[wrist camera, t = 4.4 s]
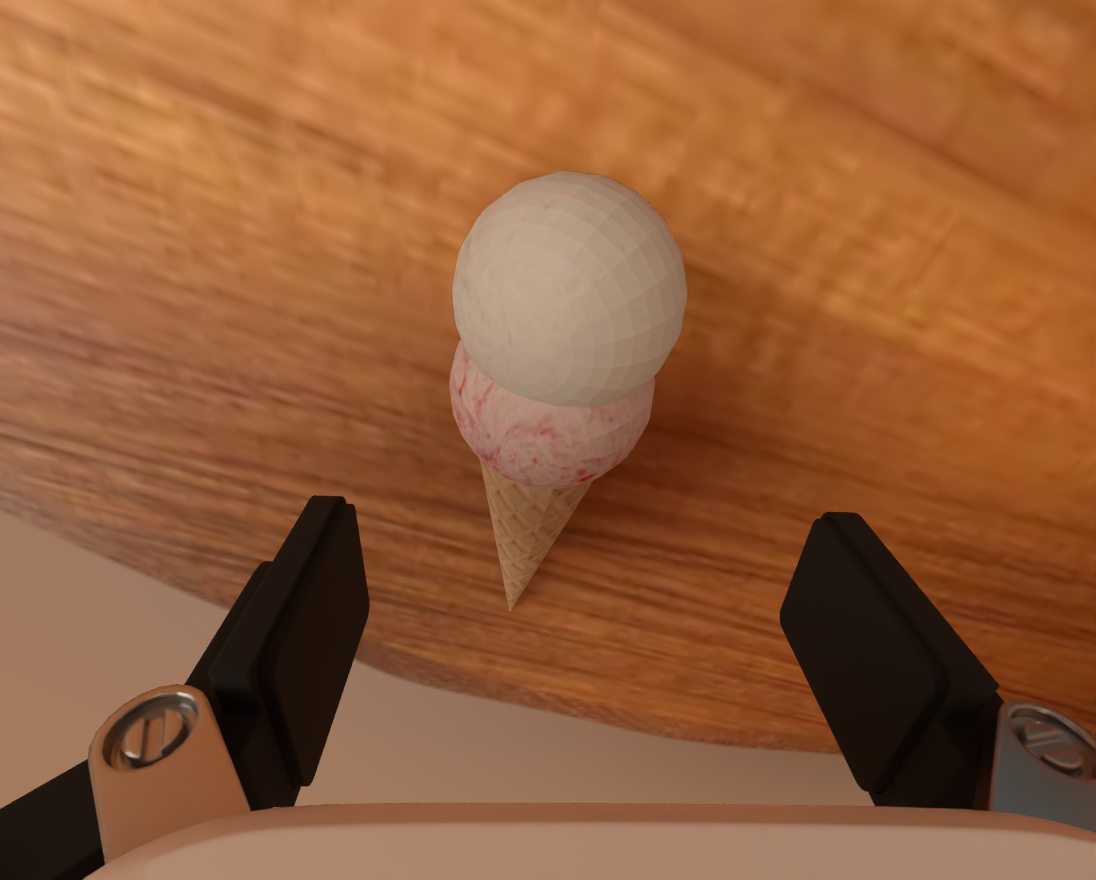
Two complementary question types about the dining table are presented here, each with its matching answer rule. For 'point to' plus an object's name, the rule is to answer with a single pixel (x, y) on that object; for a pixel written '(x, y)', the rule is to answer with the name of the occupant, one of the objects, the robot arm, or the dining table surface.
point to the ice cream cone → (559, 348)
